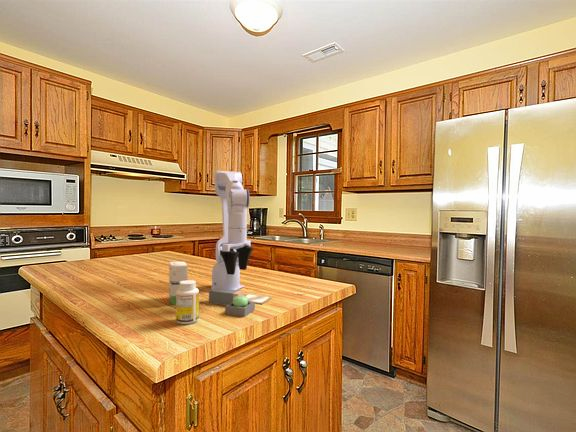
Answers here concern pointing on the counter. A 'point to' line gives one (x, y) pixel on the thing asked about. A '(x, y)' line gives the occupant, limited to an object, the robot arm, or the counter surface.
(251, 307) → the button housing
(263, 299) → the sheet
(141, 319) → the counter surface
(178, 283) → the ink box
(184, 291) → the supplement bottle
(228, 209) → the robot arm
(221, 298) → the grey rectangular block
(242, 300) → the button
